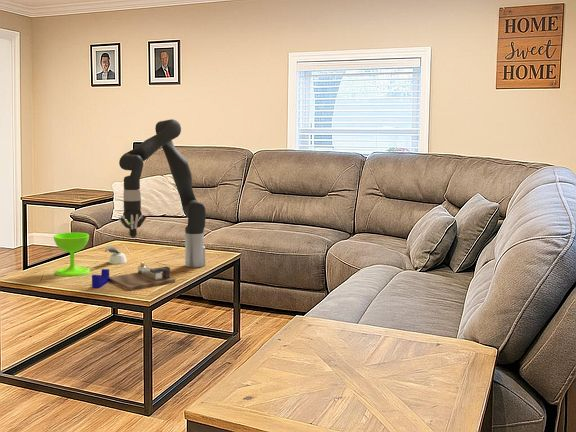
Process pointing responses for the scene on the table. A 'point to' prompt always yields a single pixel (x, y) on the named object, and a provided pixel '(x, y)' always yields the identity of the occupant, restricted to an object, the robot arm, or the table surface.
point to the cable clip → (100, 279)
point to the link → (146, 272)
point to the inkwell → (116, 256)
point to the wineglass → (71, 252)
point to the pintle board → (142, 279)
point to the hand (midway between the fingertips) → (133, 237)
